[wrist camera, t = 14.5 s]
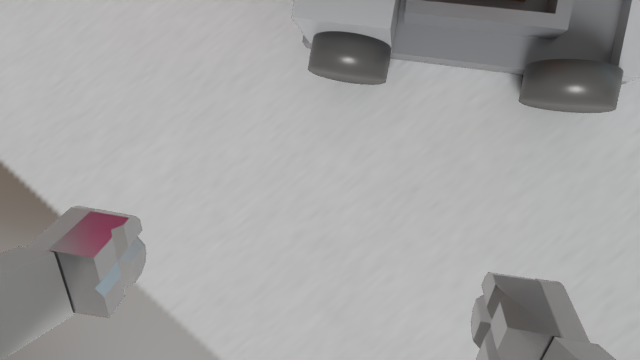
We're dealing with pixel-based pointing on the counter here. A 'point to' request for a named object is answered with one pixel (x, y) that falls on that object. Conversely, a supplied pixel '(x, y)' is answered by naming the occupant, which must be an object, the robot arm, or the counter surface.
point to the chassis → (483, 43)
